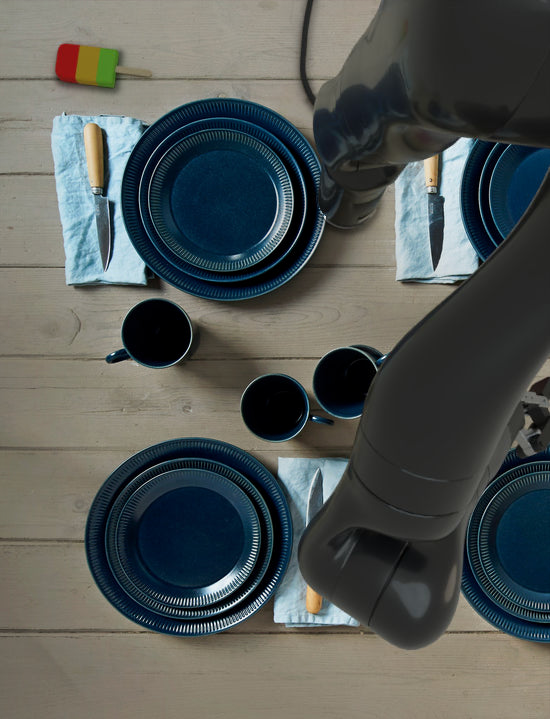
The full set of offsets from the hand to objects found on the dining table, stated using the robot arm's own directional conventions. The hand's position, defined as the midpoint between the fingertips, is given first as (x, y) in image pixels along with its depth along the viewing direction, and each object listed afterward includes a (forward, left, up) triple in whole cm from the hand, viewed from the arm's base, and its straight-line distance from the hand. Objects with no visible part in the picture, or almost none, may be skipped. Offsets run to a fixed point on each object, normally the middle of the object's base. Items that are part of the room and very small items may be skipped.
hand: (517, 350), depth 59 cm
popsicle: (-48, -51, -28) cm, 75 cm away
